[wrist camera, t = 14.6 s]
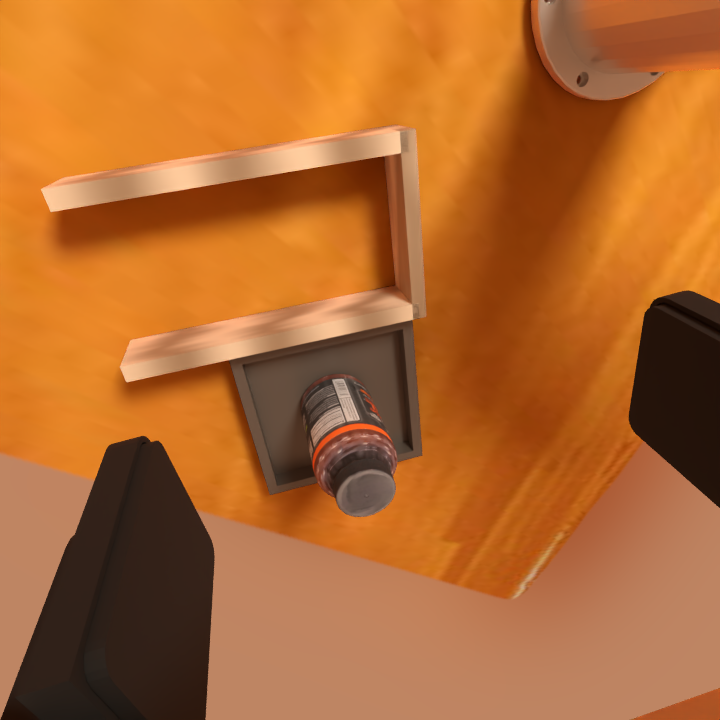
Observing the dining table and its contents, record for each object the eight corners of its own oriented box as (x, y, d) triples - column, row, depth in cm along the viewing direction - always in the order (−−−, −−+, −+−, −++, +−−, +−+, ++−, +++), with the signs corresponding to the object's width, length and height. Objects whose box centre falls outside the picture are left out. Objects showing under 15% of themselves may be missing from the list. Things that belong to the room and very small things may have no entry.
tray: (403, 307, 39) (412, 317, 37) (414, 441, 46) (422, 455, 44) (228, 344, 37) (228, 357, 35) (268, 478, 44) (270, 495, 42)
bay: (395, 124, 32) (415, 128, 28) (409, 296, 38) (426, 316, 35) (63, 177, 29) (40, 189, 26) (136, 354, 35) (126, 382, 32)
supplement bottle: (379, 409, 42) (423, 502, 32) (319, 440, 42) (345, 543, 33) (351, 357, 39) (391, 444, 29) (286, 392, 39) (304, 489, 29)
